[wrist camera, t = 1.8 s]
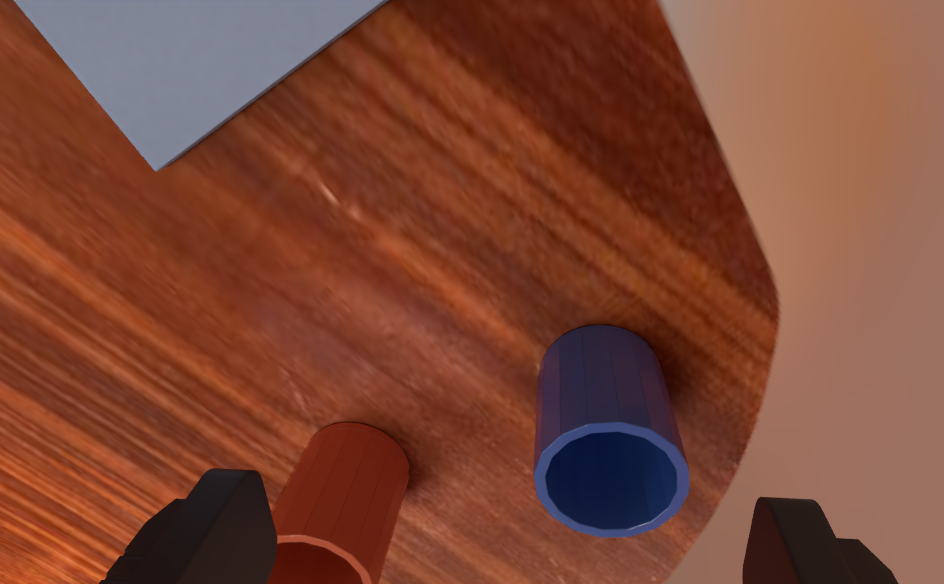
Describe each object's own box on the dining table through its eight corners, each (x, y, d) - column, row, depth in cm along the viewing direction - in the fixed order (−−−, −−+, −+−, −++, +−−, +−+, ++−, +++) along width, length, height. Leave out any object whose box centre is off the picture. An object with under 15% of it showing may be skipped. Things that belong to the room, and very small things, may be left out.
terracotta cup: (368, 406, 36) (317, 518, 28) (430, 483, 38) (399, 606, 30) (285, 445, 38) (218, 559, 31) (348, 516, 40) (300, 639, 33)
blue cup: (626, 304, 31) (647, 399, 24) (680, 397, 33) (714, 509, 26) (517, 355, 33) (506, 456, 26) (574, 439, 35) (578, 554, 28)
